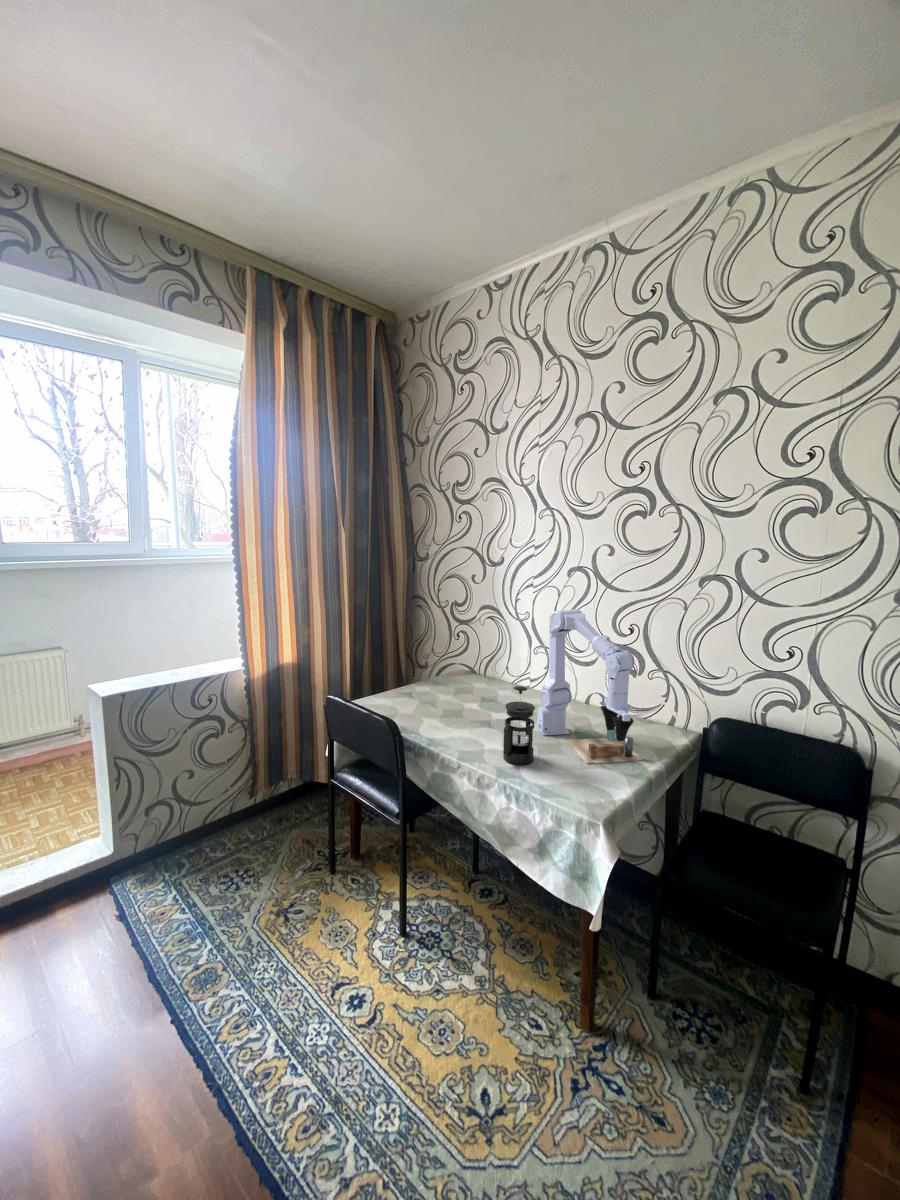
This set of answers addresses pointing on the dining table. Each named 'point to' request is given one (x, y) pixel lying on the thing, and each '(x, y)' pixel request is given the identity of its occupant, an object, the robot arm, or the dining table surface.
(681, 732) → the dining table surface
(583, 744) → the board
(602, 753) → the tan wooden bar
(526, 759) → the french press
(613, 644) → the robot arm
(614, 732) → the post
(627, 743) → the hinge post
